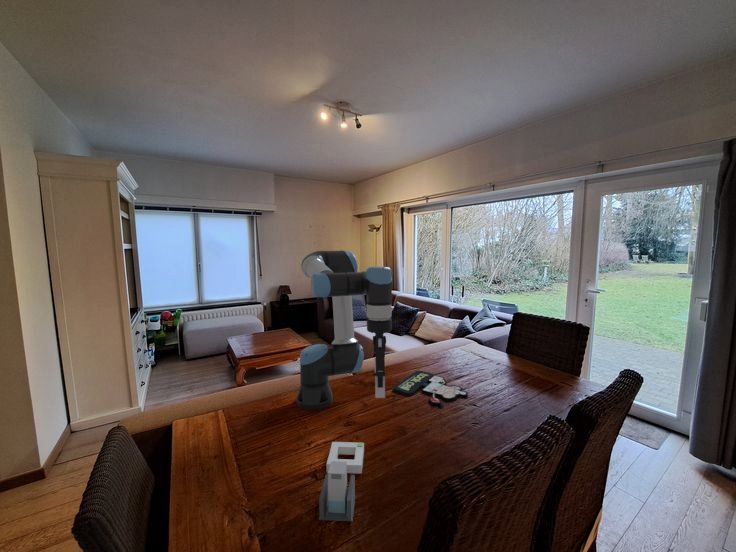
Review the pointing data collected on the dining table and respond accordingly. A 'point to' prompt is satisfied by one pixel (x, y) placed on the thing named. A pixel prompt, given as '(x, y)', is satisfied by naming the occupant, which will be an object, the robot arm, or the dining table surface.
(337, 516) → the holster
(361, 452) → the frame
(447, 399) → the sign
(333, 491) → the plug
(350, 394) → the dining table surface
